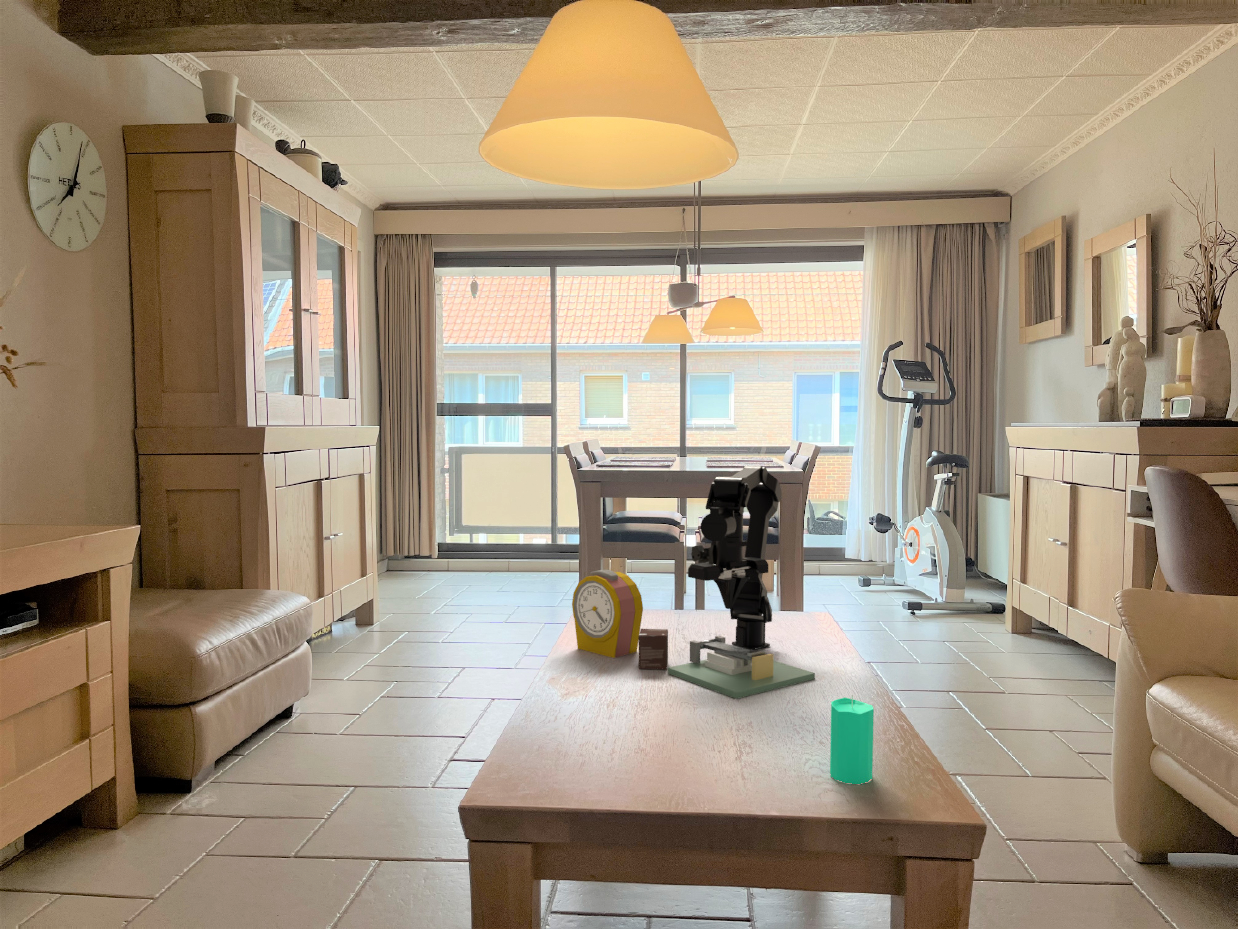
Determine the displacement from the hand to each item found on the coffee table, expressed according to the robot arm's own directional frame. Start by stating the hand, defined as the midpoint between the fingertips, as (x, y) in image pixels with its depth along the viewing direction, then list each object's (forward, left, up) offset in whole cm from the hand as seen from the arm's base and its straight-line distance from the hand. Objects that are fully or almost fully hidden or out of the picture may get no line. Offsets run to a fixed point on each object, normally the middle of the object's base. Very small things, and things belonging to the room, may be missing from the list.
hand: (728, 608), depth 179 cm
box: (+14, -8, -12) cm, 20 cm away
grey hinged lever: (+4, +5, -8) cm, 10 cm away
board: (+4, +8, -12) cm, 15 cm away
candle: (+26, +53, -12) cm, 60 cm away
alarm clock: (+15, -24, -12) cm, 31 cm away
